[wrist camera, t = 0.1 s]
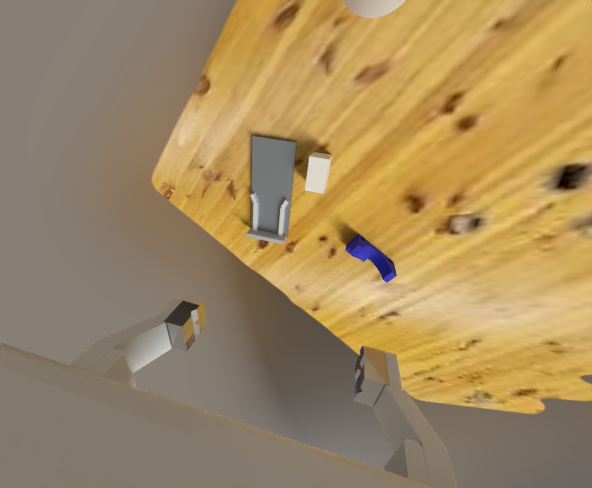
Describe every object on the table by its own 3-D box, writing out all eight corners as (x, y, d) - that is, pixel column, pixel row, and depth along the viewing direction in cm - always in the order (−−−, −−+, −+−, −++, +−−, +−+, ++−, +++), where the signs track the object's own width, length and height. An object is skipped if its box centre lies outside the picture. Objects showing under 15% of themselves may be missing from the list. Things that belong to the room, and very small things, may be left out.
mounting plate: (254, 135, 53) (246, 137, 50) (297, 142, 52) (292, 144, 48) (252, 229, 66) (246, 236, 62) (287, 237, 64) (283, 244, 61)
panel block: (314, 151, 52) (309, 156, 47) (332, 154, 52) (329, 159, 47) (309, 183, 56) (304, 190, 51) (326, 186, 55) (323, 193, 50)
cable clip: (346, 244, 62) (345, 256, 56) (358, 233, 59) (358, 244, 54) (380, 271, 63) (382, 286, 58) (393, 261, 61) (396, 275, 56)
